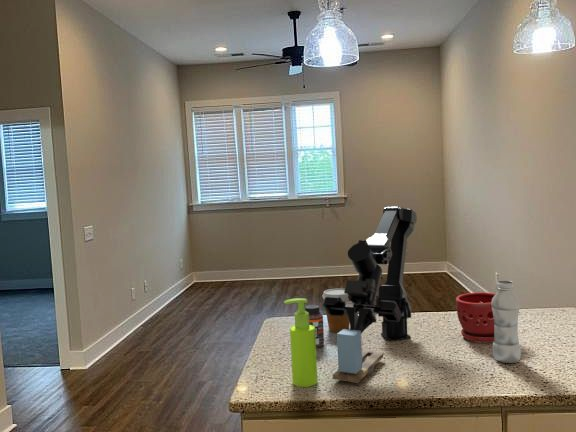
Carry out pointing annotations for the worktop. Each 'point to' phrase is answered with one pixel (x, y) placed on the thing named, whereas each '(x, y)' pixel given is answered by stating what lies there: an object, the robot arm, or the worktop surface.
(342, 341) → the rider
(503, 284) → the plastic bottle
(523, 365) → the worktop surface
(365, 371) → the slotted wooden board
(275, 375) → the worktop surface
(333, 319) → the disposable coffee cup
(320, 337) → the supplement bottle
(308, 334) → the soap dispenser
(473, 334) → the plant pot
